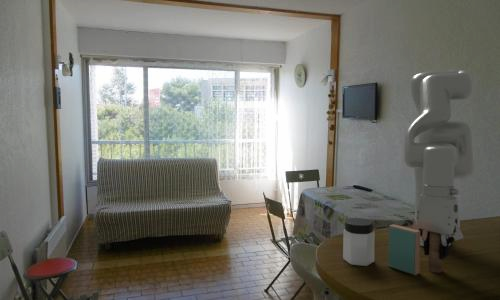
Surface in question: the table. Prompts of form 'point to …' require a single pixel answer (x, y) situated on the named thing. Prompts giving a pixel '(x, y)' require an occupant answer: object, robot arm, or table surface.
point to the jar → (358, 241)
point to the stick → (434, 252)
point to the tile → (404, 249)
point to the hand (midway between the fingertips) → (435, 255)
